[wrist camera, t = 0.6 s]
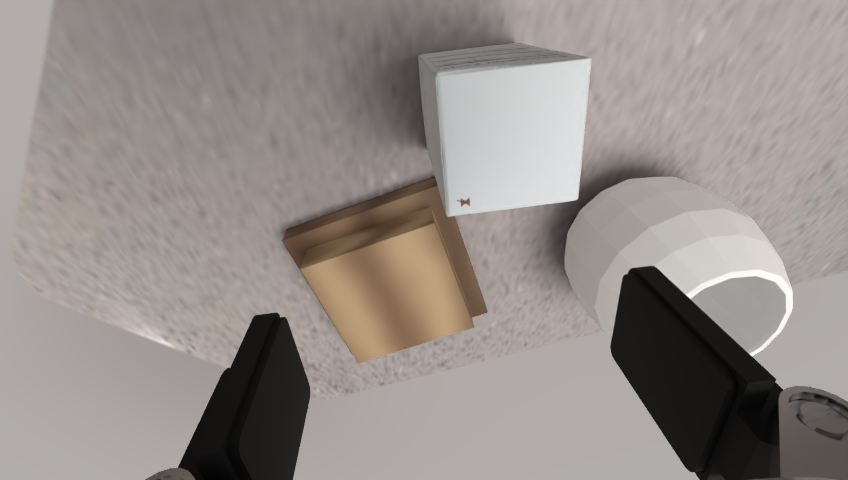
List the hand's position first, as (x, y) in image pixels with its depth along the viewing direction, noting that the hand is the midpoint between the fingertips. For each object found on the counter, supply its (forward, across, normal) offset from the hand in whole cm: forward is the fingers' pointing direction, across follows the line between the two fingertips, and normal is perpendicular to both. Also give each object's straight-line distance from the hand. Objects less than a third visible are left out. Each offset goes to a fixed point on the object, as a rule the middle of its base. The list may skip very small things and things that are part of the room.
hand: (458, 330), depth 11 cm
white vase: (+23, -18, +11) cm, 32 cm away
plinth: (+23, +3, +12) cm, 26 cm away
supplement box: (+23, -4, -2) cm, 24 cm away
